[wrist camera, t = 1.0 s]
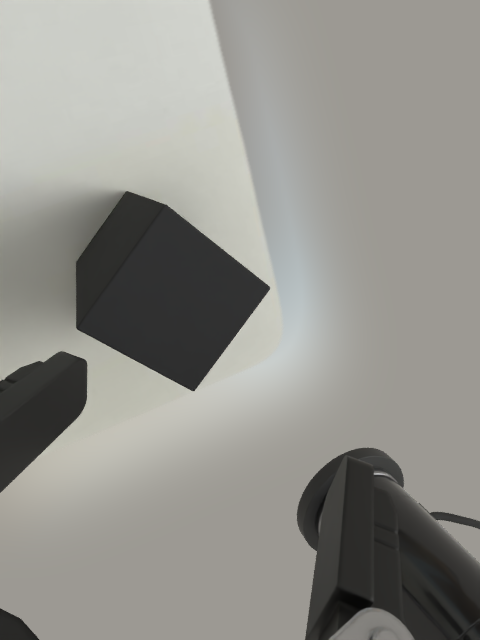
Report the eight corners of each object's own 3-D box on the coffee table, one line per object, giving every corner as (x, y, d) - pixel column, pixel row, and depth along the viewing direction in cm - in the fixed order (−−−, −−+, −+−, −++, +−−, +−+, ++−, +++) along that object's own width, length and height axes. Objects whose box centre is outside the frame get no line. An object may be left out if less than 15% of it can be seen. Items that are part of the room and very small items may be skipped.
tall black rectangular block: (195, 243, 25) (271, 288, 15) (148, 308, 25) (194, 392, 15) (126, 190, 22) (165, 203, 13) (75, 262, 23) (75, 329, 13)
